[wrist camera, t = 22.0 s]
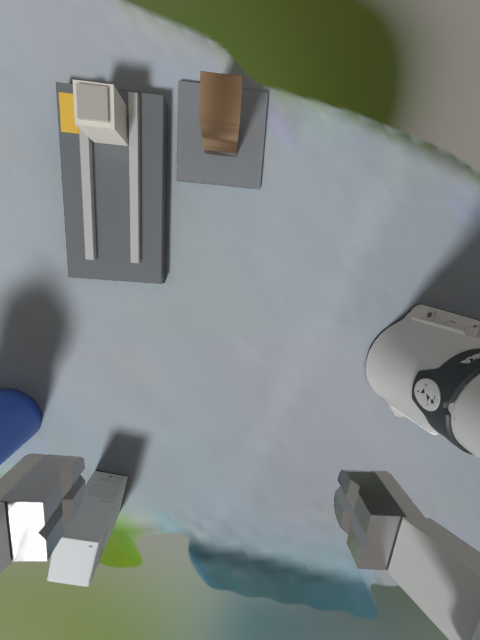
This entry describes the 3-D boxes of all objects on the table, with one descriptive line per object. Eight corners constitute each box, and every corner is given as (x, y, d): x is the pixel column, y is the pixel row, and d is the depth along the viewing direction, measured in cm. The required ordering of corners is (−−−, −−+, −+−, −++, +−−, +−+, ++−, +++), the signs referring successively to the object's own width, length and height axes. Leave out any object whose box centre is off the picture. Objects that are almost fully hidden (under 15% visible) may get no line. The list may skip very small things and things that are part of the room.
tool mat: (267, 95, 32) (268, 92, 32) (259, 189, 35) (260, 187, 34) (179, 83, 31) (178, 80, 31) (177, 180, 34) (176, 179, 33)
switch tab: (128, 108, 30) (111, 81, 26) (128, 146, 31) (113, 127, 26) (92, 103, 30) (70, 76, 25) (94, 142, 30) (72, 122, 26)
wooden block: (238, 122, 32) (242, 76, 24) (235, 157, 33) (239, 124, 25) (206, 118, 32) (200, 71, 24) (204, 153, 33) (198, 119, 25)
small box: (95, 469, 42) (53, 534, 32) (129, 475, 43) (99, 542, 33) (86, 507, 44) (44, 582, 33) (119, 513, 44) (88, 588, 34)
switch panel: (166, 105, 32) (161, 90, 29) (164, 282, 36) (159, 284, 34) (66, 93, 31) (51, 76, 28) (76, 276, 36) (64, 277, 33)
